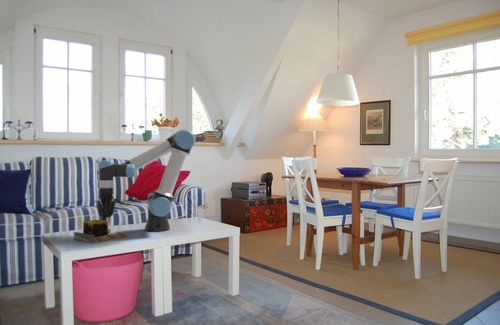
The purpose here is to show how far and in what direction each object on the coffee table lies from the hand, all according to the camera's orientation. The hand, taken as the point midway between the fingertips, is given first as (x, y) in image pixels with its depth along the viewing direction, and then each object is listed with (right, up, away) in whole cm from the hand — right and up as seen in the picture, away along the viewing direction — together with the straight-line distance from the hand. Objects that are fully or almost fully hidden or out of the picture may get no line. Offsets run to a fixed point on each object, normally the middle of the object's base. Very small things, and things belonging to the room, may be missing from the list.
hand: (106, 228), depth 227 cm
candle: (-3, -5, -7) cm, 9 cm away
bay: (-1, -5, -3) cm, 6 cm away
